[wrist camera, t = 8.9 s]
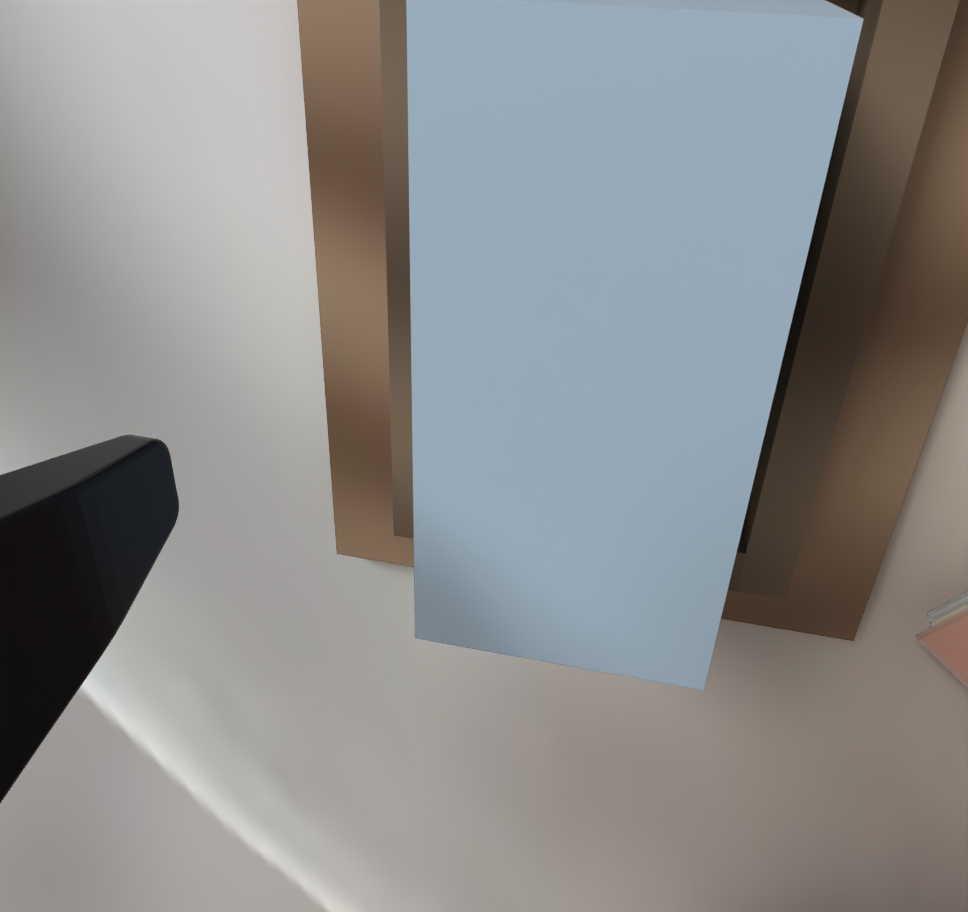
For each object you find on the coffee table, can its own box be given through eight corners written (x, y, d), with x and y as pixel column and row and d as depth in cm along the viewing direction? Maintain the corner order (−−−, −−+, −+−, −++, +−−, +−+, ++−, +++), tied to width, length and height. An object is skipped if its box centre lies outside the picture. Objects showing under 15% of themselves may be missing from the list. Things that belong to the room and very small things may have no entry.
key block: (501, 427, 19) (414, 638, 14) (524, -27, 15) (405, -6, 9) (702, 455, 19) (703, 690, 13) (795, -15, 14) (863, 17, 8)
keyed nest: (296, -360, 14) (206, -426, 11) (1186, -375, 12) (1319, -463, 9) (350, 531, 23) (307, 603, 21) (847, 613, 21) (866, 704, 19)
